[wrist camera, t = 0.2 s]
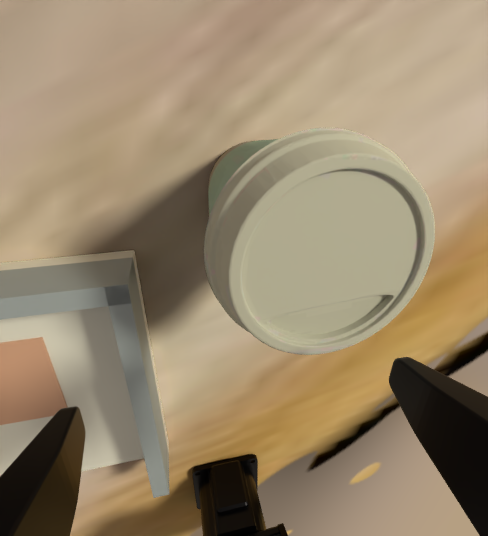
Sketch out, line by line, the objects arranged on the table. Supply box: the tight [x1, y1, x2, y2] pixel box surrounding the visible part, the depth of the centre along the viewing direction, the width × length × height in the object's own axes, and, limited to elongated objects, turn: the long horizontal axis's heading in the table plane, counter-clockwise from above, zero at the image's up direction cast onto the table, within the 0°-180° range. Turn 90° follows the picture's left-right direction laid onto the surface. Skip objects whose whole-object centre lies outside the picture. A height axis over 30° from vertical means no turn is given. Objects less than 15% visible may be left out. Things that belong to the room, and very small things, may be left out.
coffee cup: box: [204, 128, 435, 355], centre depth 16 cm, size 8×9×12 cm
